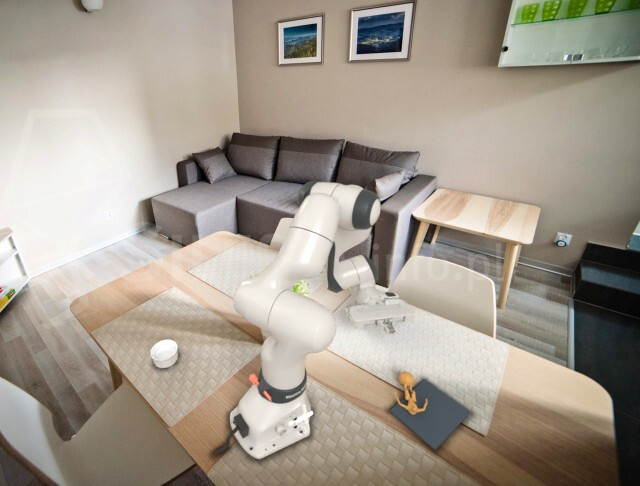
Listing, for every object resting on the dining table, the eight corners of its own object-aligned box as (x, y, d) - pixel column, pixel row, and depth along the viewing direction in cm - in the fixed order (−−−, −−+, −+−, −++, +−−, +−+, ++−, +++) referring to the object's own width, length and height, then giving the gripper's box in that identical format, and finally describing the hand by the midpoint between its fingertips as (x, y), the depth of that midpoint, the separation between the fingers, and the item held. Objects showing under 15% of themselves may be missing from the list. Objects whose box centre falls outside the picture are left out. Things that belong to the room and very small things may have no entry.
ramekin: (147, 366, 106) (144, 356, 105) (162, 346, 114) (159, 336, 112) (170, 372, 103) (168, 363, 101) (184, 351, 111) (182, 342, 109)
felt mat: (434, 450, 77) (435, 449, 77) (389, 411, 87) (389, 409, 87) (469, 413, 85) (470, 411, 84) (424, 380, 94) (424, 379, 94)
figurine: (421, 372, 93) (435, 401, 82) (417, 390, 94) (430, 422, 83) (390, 365, 95) (400, 393, 83) (387, 383, 96) (395, 413, 85)
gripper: (342, 299, 111) (359, 328, 98) (401, 292, 111) (425, 320, 99) (341, 313, 113) (358, 343, 101) (399, 307, 114) (422, 336, 101)
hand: (392, 332), depth 100 cm, fingers closed
